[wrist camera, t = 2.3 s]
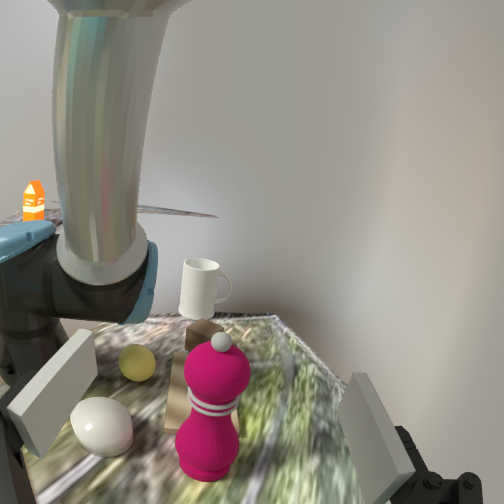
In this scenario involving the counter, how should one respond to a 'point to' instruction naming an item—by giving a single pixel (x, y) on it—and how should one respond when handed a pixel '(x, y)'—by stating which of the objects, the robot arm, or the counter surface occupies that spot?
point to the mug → (200, 288)
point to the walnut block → (200, 333)
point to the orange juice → (33, 202)
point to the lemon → (136, 362)
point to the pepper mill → (212, 408)
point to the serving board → (182, 398)
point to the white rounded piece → (102, 426)
